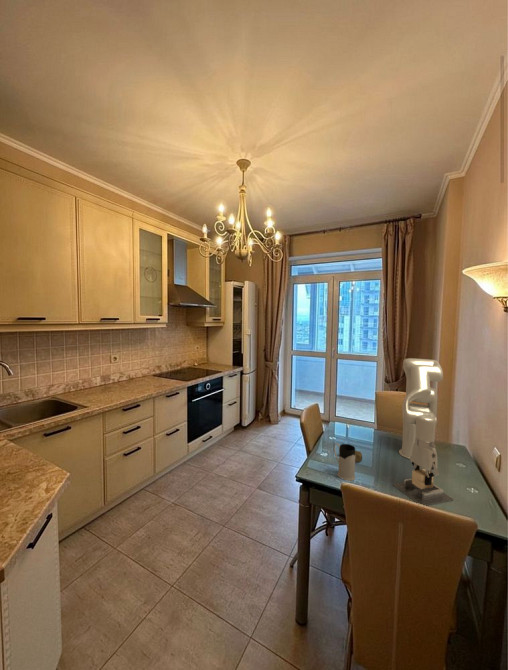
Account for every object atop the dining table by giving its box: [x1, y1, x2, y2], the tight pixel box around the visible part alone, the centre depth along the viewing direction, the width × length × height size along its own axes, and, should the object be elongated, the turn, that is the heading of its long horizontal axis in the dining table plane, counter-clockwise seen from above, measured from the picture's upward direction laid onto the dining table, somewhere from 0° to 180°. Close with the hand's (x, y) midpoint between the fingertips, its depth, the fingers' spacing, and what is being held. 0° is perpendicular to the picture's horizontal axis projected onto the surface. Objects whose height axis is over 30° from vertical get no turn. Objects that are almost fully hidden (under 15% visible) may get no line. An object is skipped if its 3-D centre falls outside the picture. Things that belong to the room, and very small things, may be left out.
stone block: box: [355, 449, 363, 463], centre depth 156 cm, size 6×12×5 cm, turn 51°
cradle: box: [392, 478, 454, 507], centre depth 125 cm, size 18×16×4 cm
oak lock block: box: [411, 468, 435, 489], centre depth 125 cm, size 7×5×6 cm
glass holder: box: [333, 442, 356, 482], centre depth 139 cm, size 9×14×15 cm, turn 24°
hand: (422, 480), depth 125 cm, fingers closed on oak lock block, 5 cm apart
